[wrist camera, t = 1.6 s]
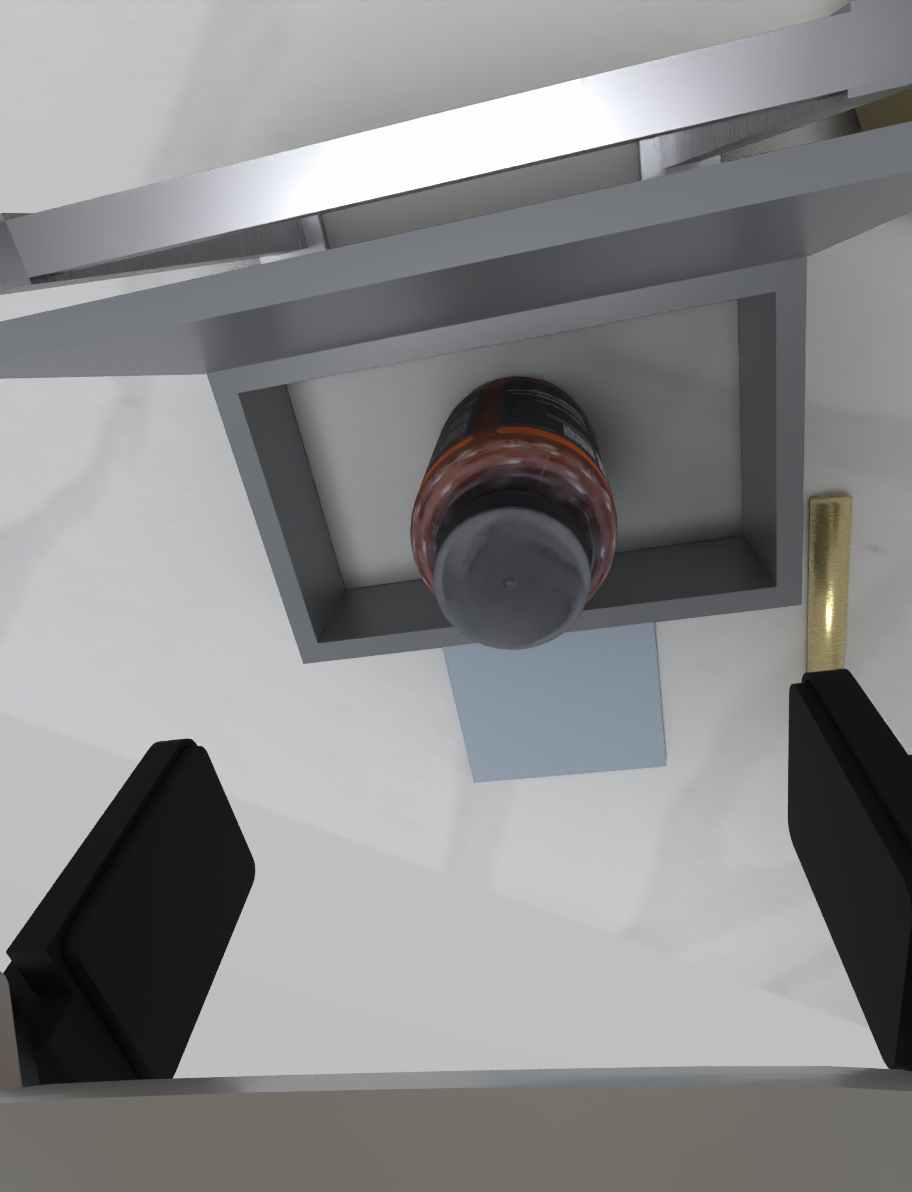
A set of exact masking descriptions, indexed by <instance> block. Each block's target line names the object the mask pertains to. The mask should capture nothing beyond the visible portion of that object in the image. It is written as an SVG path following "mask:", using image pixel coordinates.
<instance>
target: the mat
mask: <svg viewBox="0 0 912 1192" xmlns="http://www.w3.org/2000/svg"><path fill="white" fill-rule="evenodd" d="M443 652H444V656H445V660H446V664H447V669H448V673H449V677H450V682H451V686H452V690H453V694H454V699H455V703H456V707H457V711H458V716H459V720H460V724H461V729H462V733H463V737H464V741H465V746H466V750H467V754H468V758H469V763H470V767H471V771H472V776H473V780H474V783H475V782H487V781H499V780H510V779H522V778H534V777H545V776H557V775H569V774H580V773H592V772H604V771H615V770H627V769H639V768H650V767H662V766H666V755H665V743H664V732H663V720H662V708H661V697H660V685H659V674H658V662H657V650H656V639H655V627H654V622H651V623H643V624H635V625H626V626H618V627H609V628H601V629H593V630H584V631H576V632H567V633H563V634H562V635H560V636H558V637H557V638H555V639H553V640H552V641H550V642H547V643H544V644H542V645H539V646H536V647H532V648H528V649H522V650H508V649H505V650H504V649H497V648H492V647H488V646H485V645H482V644H480V643H475V644H466V645H458V646H449V647H443Z"/></svg>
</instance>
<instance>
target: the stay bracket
mask: <svg viewBox="0 0 912 1192" xmlns="http://www.w3.org/2000/svg"><path fill="white" fill-rule="evenodd" d="M909 89H912V0H855V1H851V2H850V3H848V4H847V5H845V6H844V7H842V8H841V9H839V10H838V11H837V12H835V13H834V14H832V15H831V16H829V17H827V18H823V19H819V20H815V21H811V22H807V23H803V24H799V25H795V26H791V27H787V28H783V29H779V30H775V31H771V32H767V33H762V34H758V35H754V36H750V37H746V38H742V39H738V40H734V41H730V42H726V43H722V44H718V45H714V46H710V47H706V48H702V49H698V50H694V51H690V52H686V53H681V54H677V55H673V56H669V57H665V58H661V59H657V60H653V61H649V62H645V63H641V64H637V65H633V66H629V67H625V68H621V69H617V70H613V71H609V72H605V73H600V74H596V75H592V76H588V77H584V78H580V79H576V80H572V81H568V82H564V83H560V84H556V85H552V86H548V87H544V88H540V89H536V90H532V91H528V92H524V93H520V94H515V95H511V96H507V97H503V98H499V99H495V100H491V101H487V102H483V103H479V104H475V105H471V106H467V107H463V108H459V109H455V110H451V111H447V112H443V113H439V114H434V115H430V116H426V117H422V118H418V119H414V120H410V121H406V122H402V123H398V124H394V125H390V126H386V127H382V128H378V129H374V130H370V131H366V132H362V133H358V134H353V135H349V136H345V137H341V138H337V139H333V140H329V141H325V142H321V143H317V144H313V145H309V146H305V147H301V148H297V149H293V150H289V151H285V152H281V153H277V154H273V155H268V156H264V157H260V158H256V159H252V160H248V161H244V162H240V163H236V164H232V165H228V166H224V167H220V168H216V169H212V170H208V171H204V172H200V173H196V174H192V175H187V176H183V177H179V178H175V179H171V180H167V181H163V182H159V183H155V184H151V185H147V186H143V187H139V188H135V189H131V190H127V191H123V192H119V193H115V194H111V195H106V196H102V197H98V198H94V199H90V200H86V201H82V202H78V203H74V204H70V205H66V206H62V207H58V208H54V209H50V210H46V211H42V212H38V213H1V214H0V295H3V294H10V293H17V292H24V291H31V290H38V289H45V288H52V287H59V286H66V285H73V284H80V283H87V282H94V281H101V280H108V279H115V278H122V277H129V276H136V275H142V274H149V273H156V272H163V271H170V270H177V269H184V268H191V267H198V266H205V265H212V264H219V263H226V262H233V261H240V260H247V259H254V258H259V260H260V263H261V264H265V263H269V262H274V261H278V260H283V259H287V258H292V257H297V256H301V255H306V254H310V253H315V252H319V251H324V250H328V249H329V247H328V243H327V239H326V235H325V231H324V227H323V223H322V219H321V215H320V214H324V213H328V212H333V211H337V210H341V209H346V208H350V207H354V206H359V205H363V204H368V203H372V202H376V201H381V200H385V199H389V198H394V197H398V196H402V195H407V194H411V193H416V192H420V191H424V190H429V189H433V188H437V187H442V186H446V185H450V184H455V183H459V182H464V181H468V180H472V179H477V178H481V177H485V176H490V175H494V174H498V173H503V172H507V171H511V170H516V169H520V168H525V167H529V166H533V165H538V164H542V163H546V162H551V161H555V160H559V159H564V158H568V157H573V156H577V155H581V154H586V153H590V152H594V151H599V150H603V149H607V148H612V147H616V146H621V145H625V144H629V143H634V142H638V151H639V165H640V179H641V181H642V180H646V179H651V178H655V177H660V176H664V175H669V174H674V173H678V172H683V171H687V170H692V169H696V168H701V167H705V166H710V165H714V164H719V163H721V154H723V153H726V152H729V151H732V150H735V149H738V148H740V147H743V146H746V145H749V144H752V143H755V142H758V141H761V140H764V139H767V138H769V137H772V136H775V135H778V134H781V133H784V132H787V131H790V130H793V129H796V128H799V127H801V126H804V125H807V124H810V123H813V122H816V121H819V120H822V119H825V118H828V117H830V116H833V115H836V114H839V113H842V112H845V111H848V110H851V109H854V108H857V107H860V106H862V105H865V104H868V103H871V102H874V101H877V100H880V99H883V98H886V97H889V96H891V95H894V94H897V93H900V92H903V91H906V90H909Z"/></svg>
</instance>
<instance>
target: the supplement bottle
mask: <svg viewBox="0 0 912 1192" xmlns="http://www.w3.org/2000/svg"><path fill="white" fill-rule="evenodd" d="M617 535H618V534H617V516H616V511H615V506H614V501H613V497H612V494H611V491H610V488H609V484H608V481H607V478H606V475H605V470H604V468H603V464H602V461H601V458H600V455H599V451H598V448H597V444H596V441H595V437H594V435H593V431H592V429H591V427H590V425H589V423H588V420H587V418H586V416H585V415H584V414H583V412H582V411H581V409H580V408H579V406H578V405H577V404H576V403H575V402H574V401H573V400H572V399H571V398H569V397H568V395H566V394H565V393H564V392H562V391H561V390H559V389H557V388H555V387H553V386H551V385H550V384H548V383H545V382H541V381H538V380H535V379H529V378H509V379H503V380H498V381H495V382H492V383H489V384H486V385H484V386H481V387H479V388H478V389H476V390H474V391H473V392H472V393H470V394H469V395H468V396H467V397H466V398H464V399H463V400H462V401H461V402H460V403H459V404H458V405H457V407H456V408H455V409H454V410H453V412H452V413H451V415H450V417H449V418H448V420H447V421H446V423H445V425H444V427H443V429H442V431H441V434H440V437H439V439H438V441H437V445H436V447H435V450H434V452H433V455H432V458H431V460H430V463H429V466H428V468H427V471H426V473H425V476H424V479H423V481H422V484H421V487H420V489H419V492H418V495H417V497H416V500H415V503H414V508H413V512H412V518H411V545H412V550H413V555H414V559H415V562H416V565H417V567H418V570H419V572H420V574H421V576H422V578H423V581H424V582H425V584H426V585H427V586H428V588H429V589H430V590H431V592H432V593H433V594H434V595H435V597H436V599H437V603H438V604H439V607H440V609H441V611H442V613H443V615H444V616H445V617H446V619H447V620H448V621H449V622H450V623H451V624H452V625H453V626H454V627H455V628H456V629H457V630H458V631H459V632H460V633H462V634H463V635H465V636H466V637H468V638H469V639H471V640H473V641H475V642H477V643H480V644H482V645H485V646H488V647H492V648H497V649H504V650H505V649H508V650H522V649H528V648H532V647H536V646H539V645H542V644H544V643H547V642H550V641H552V640H553V639H555V638H557V637H558V636H560V635H562V634H563V633H564V632H565V631H566V630H568V629H569V628H570V627H571V626H572V625H573V624H574V623H575V621H576V620H577V618H578V617H579V616H580V614H581V612H582V610H583V609H584V607H585V605H586V602H587V601H588V600H590V598H591V597H592V596H593V595H594V593H595V592H596V591H597V590H598V588H599V587H600V586H601V585H602V583H603V581H604V579H605V578H606V577H607V574H608V572H609V570H610V568H611V565H612V562H613V559H614V556H615V551H616V546H617Z"/></svg>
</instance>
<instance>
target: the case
mask: <svg viewBox="0 0 912 1192" xmlns="http://www.w3.org/2000/svg"><path fill="white" fill-rule="evenodd" d="M806 257H807V256H805V257H799V258H794V259H789V260H784V261H779V262H774V263H769V264H764V265H759V266H753V267H748V268H743V269H738V270H733V271H728V272H723V273H718V274H712V275H707V276H702V277H697V278H692V279H687V280H682V281H677V282H672V283H666V284H661V285H656V286H651V287H646V288H641V289H636V290H631V291H626V292H620V293H615V294H610V295H605V296H600V297H595V298H590V299H585V300H579V301H574V302H569V303H564V304H559V305H554V306H549V307H544V308H539V309H533V310H528V311H523V312H518V313H513V314H508V315H503V316H498V317H493V318H487V319H482V320H477V321H472V322H467V323H462V324H457V325H452V326H446V327H441V328H436V329H431V330H426V331H421V332H416V333H411V334H406V335H400V336H395V337H390V338H385V339H380V340H375V341H370V342H365V343H360V344H354V345H349V346H344V347H339V348H334V349H329V350H324V351H319V352H313V353H308V354H303V355H298V356H293V357H288V358H283V359H278V360H273V361H267V362H262V363H257V364H252V365H247V366H242V367H237V368H232V369H227V370H221V371H216V372H211V373H207V376H208V379H209V382H210V385H211V388H212V391H213V394H214V397H215V400H216V403H217V406H218V409H219V412H220V415H221V418H222V421H223V424H224V427H225V430H226V433H227V436H228V439H229V442H230V445H231V448H232V451H233V454H234V457H235V460H236V463H237V466H238V469H239V472H240V475H241V478H242V481H243V484H244V487H245V490H246V493H247V496H248V499H249V502H250V505H251V508H252V511H253V514H254V517H255V520H256V523H257V526H258V529H259V532H260V535H261V538H262V541H263V544H264V547H265V550H266V553H267V556H268V559H269V562H270V565H271V568H272V571H273V574H274V577H275V580H276V583H277V586H278V589H279V592H280V595H281V598H282V601H283V604H284V607H285V610H286V613H287V616H288V619H289V622H290V625H291V628H292V631H293V634H294V637H295V640H296V643H297V646H298V649H299V652H300V655H301V658H302V661H303V664H306V663H315V662H323V661H332V660H340V659H348V658H357V657H365V656H374V655H382V654H390V653H399V652H407V651H416V650H424V649H433V648H441V647H449V646H458V645H466V644H475V643H477V642H475V641H473V640H471V639H469V638H468V637H466V636H465V635H463V634H462V633H460V632H459V631H458V630H457V629H456V628H455V627H454V626H453V625H452V624H451V623H450V622H449V621H448V620H447V619H446V617H445V616H444V615H443V613H442V611H441V609H440V607H439V604H438V603H437V599H436V597H435V595H434V594H433V593H432V592H431V590H430V589H429V588H428V586H427V585H426V584H425V582H424V581H423V579H421V580H414V581H407V582H399V583H392V584H385V585H377V586H370V587H363V588H355V589H348V590H345V588H344V584H343V581H342V577H341V574H340V570H339V567H338V564H337V560H336V557H335V553H334V550H333V546H332V543H331V539H330V536H329V533H328V529H327V526H326V522H325V519H324V515H323V512H322V508H321V505H320V501H319V498H318V495H317V491H316V488H315V484H314V481H313V477H312V474H311V470H310V467H309V464H308V460H307V457H306V453H305V450H304V446H303V443H302V439H301V436H300V432H299V429H298V426H297V422H296V419H295V415H294V412H293V408H292V405H291V401H290V398H289V395H288V391H287V388H286V384H289V383H294V382H300V381H305V380H310V379H316V378H321V377H326V376H331V375H337V374H342V373H347V372H353V371H358V370H363V369H369V368H374V367H379V366H384V365H390V364H395V363H400V362H406V361H411V360H416V359H421V358H427V357H432V356H437V355H443V354H448V353H453V352H458V351H464V350H469V349H474V348H480V347H485V346H490V345H496V344H501V343H506V342H511V341H517V340H522V339H527V338H533V337H538V336H543V335H548V334H554V333H559V332H564V331H570V330H575V329H580V328H586V327H591V326H596V325H601V324H607V323H612V322H617V321H623V320H628V319H633V318H638V317H644V316H649V315H654V314H660V313H665V312H670V311H675V310H681V309H686V308H691V307H697V306H702V305H707V304H713V303H718V302H723V301H728V300H734V299H738V333H739V376H740V418H741V460H742V503H743V536H738V537H731V538H724V539H716V540H709V541H701V542H694V543H687V544H679V545H672V546H665V547H657V548H650V549H643V550H635V551H628V552H620V553H615V556H614V559H613V562H612V565H611V568H610V570H609V572H608V574H607V577H606V578H605V579H604V581H603V583H602V585H601V586H600V587H599V588H598V590H597V591H596V592H595V593H594V595H593V596H592V597H591V598H590V600H588V601H587V602H586V605H585V607H584V609H583V610H582V612H581V614H580V616H579V617H578V618H577V620H576V621H575V623H574V624H573V625H572V626H571V627H570V628H569V629H568V630H566V631H565V632H564V633H567V632H576V631H584V630H593V629H601V628H609V627H618V626H626V625H635V624H643V623H651V622H660V621H668V620H677V619H685V618H694V617H702V616H710V615H719V614H727V613H736V612H744V611H753V610H761V609H769V608H778V607H786V606H795V605H801V603H802V534H803V464H804V395H805V326H806Z"/></svg>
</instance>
